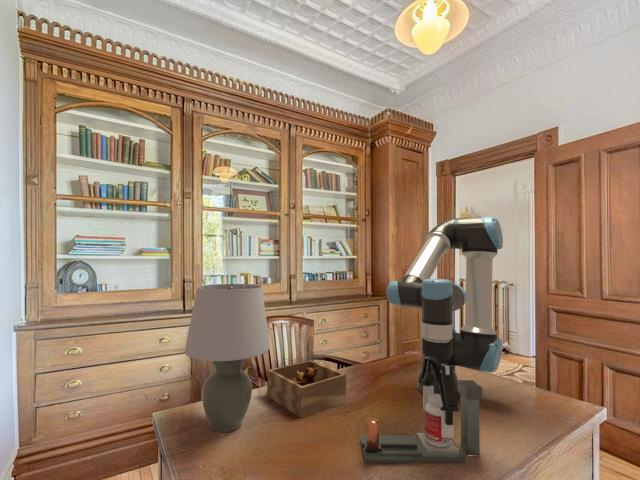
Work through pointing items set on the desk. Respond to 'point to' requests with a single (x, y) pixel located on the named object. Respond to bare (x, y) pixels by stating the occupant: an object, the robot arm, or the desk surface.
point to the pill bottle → (434, 422)
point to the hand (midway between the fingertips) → (437, 422)
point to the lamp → (227, 347)
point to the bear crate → (306, 388)
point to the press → (422, 451)
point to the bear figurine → (305, 377)
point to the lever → (372, 435)
